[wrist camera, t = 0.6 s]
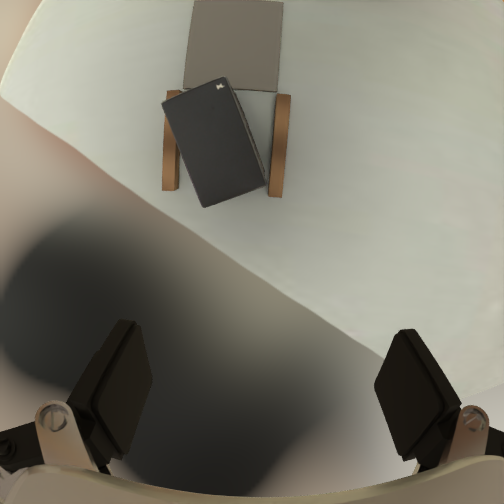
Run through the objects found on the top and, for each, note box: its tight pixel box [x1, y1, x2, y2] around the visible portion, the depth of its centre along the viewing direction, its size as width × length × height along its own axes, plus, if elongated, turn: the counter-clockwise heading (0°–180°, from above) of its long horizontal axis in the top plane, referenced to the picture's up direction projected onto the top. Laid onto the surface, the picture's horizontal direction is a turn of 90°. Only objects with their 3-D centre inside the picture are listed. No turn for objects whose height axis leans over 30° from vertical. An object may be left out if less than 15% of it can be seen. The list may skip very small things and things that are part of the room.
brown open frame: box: [162, 90, 291, 198], centre depth 31 cm, size 12×14×2 cm
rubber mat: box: [183, 0, 283, 92], centre depth 27 cm, size 13×11×1 cm
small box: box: [161, 76, 267, 208], centre depth 27 cm, size 11×6×10 cm, turn 20°
